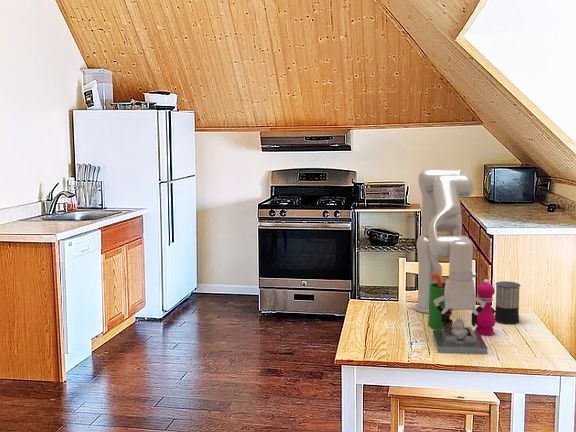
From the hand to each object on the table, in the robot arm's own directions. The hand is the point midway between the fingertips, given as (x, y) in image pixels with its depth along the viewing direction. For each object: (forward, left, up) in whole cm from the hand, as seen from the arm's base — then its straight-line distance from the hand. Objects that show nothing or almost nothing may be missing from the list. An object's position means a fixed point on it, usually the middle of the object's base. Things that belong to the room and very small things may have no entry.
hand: (458, 324), depth 217 cm
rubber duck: (0, 0, -5) cm, 5 cm away
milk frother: (-33, +19, -7) cm, 38 cm away
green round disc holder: (-21, -4, -7) cm, 22 cm away
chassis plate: (0, 0, -7) cm, 7 cm away
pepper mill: (-14, +11, -7) cm, 19 cm away
